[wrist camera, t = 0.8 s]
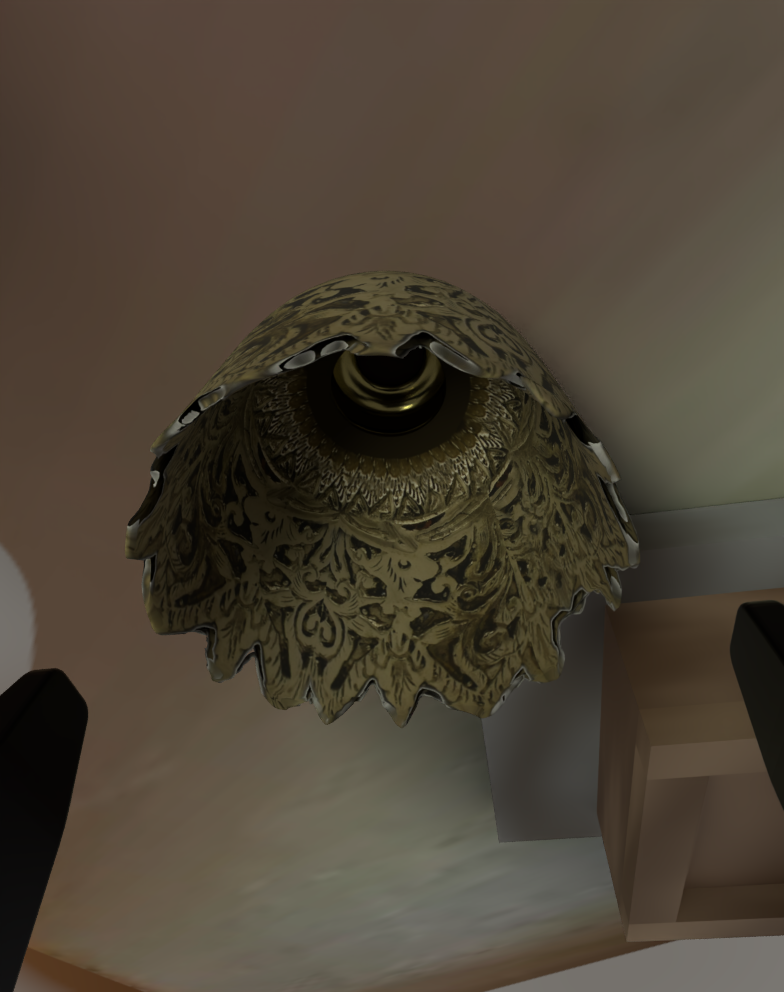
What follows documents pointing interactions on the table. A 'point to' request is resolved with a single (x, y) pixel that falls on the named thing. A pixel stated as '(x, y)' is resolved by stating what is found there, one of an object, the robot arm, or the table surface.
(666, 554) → the wooden square tray
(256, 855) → the table surface
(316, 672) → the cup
